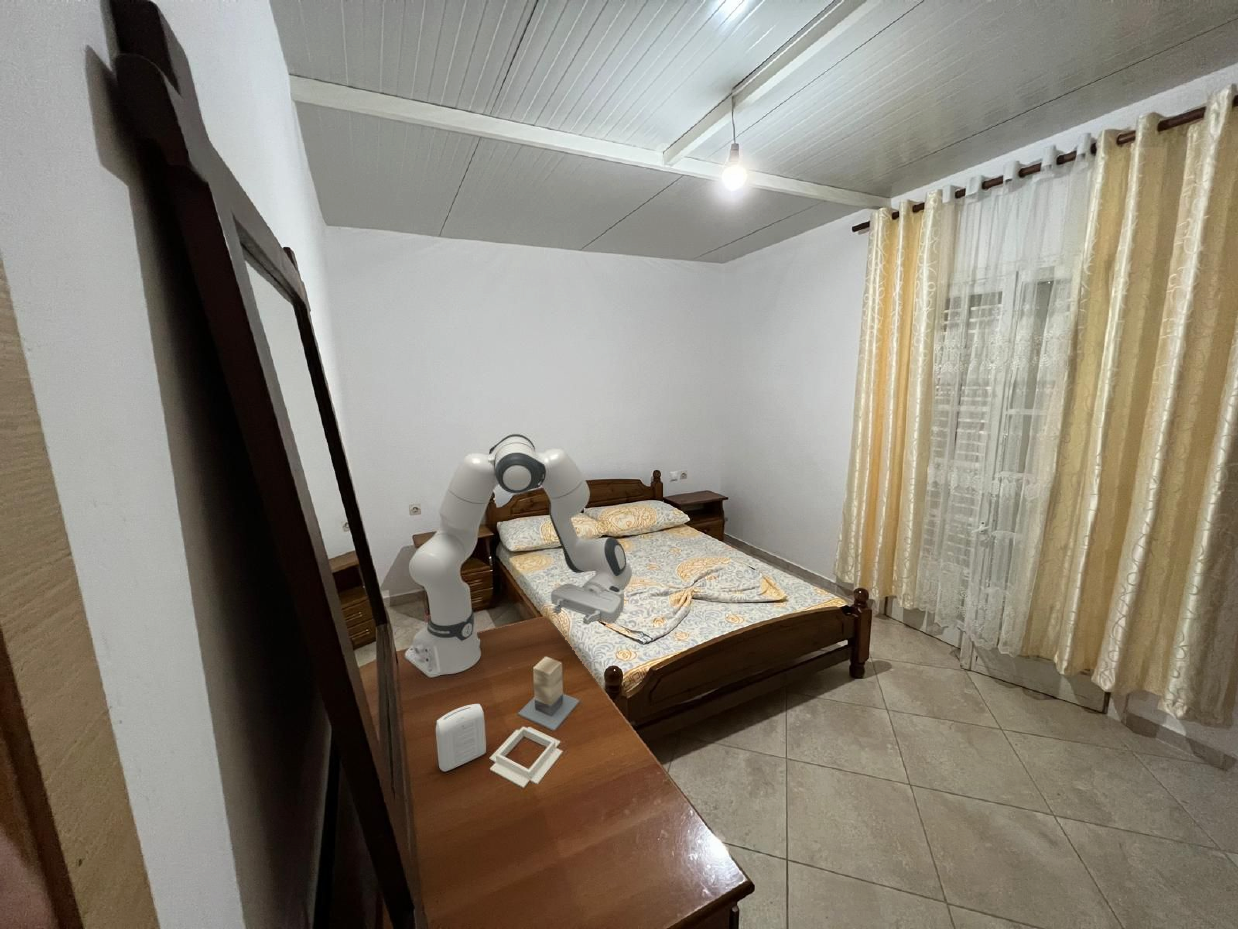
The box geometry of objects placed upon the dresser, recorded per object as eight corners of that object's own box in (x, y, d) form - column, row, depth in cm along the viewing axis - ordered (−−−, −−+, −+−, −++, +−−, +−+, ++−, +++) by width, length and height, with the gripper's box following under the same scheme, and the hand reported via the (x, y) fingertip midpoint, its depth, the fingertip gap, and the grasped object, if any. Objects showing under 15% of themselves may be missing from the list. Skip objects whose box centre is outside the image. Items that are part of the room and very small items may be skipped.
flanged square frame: (483, 766, 103) (482, 758, 102) (522, 724, 114) (521, 717, 113) (531, 792, 97) (530, 784, 96) (567, 745, 108) (567, 738, 107)
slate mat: (518, 715, 117) (518, 713, 117) (545, 687, 126) (545, 686, 126) (554, 731, 112) (554, 730, 112) (579, 702, 121) (579, 700, 121)
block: (535, 709, 118) (533, 667, 115) (547, 696, 122) (545, 656, 119) (551, 716, 116) (549, 674, 113) (563, 703, 120) (561, 662, 117)
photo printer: (483, 740, 109) (479, 695, 106) (489, 753, 106) (485, 707, 103) (437, 761, 104) (431, 714, 101) (441, 776, 100) (436, 727, 97)
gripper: (567, 574, 139) (538, 594, 127) (628, 592, 130) (603, 616, 118) (566, 593, 141) (538, 615, 129) (627, 613, 132) (603, 638, 120)
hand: (570, 616), depth 124 cm, fingers open, 8 cm apart
